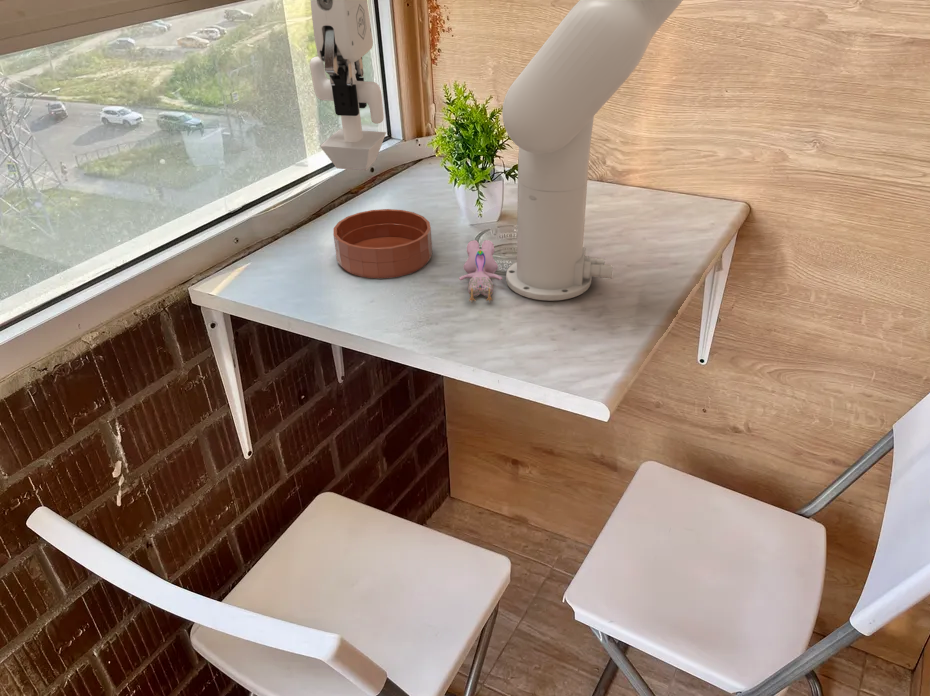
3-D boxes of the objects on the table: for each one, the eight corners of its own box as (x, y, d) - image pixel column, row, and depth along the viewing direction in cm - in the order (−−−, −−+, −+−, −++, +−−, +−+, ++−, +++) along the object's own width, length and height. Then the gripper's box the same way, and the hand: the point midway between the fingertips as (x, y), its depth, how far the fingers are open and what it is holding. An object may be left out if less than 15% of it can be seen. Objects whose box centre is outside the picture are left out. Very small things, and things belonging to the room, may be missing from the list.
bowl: (440, 241, 125) (439, 212, 122) (420, 282, 113) (417, 251, 110) (353, 235, 126) (350, 206, 123) (324, 276, 115) (319, 245, 112)
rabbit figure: (502, 310, 109) (500, 249, 120) (503, 277, 105) (500, 216, 116) (459, 311, 109) (460, 250, 120) (457, 277, 105) (459, 217, 115)
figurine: (379, 175, 107) (367, 62, 98) (316, 170, 109) (298, 59, 100) (395, 157, 113) (385, 49, 104) (335, 153, 114) (320, 45, 105)
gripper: (341, -31, 89) (360, 130, 99) (379, -47, 102) (393, 96, 112) (279, -31, 89) (305, 128, 100) (324, -48, 103) (343, 94, 113)
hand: (351, 109), depth 106 cm, fingers closed on figurine, 2 cm apart
